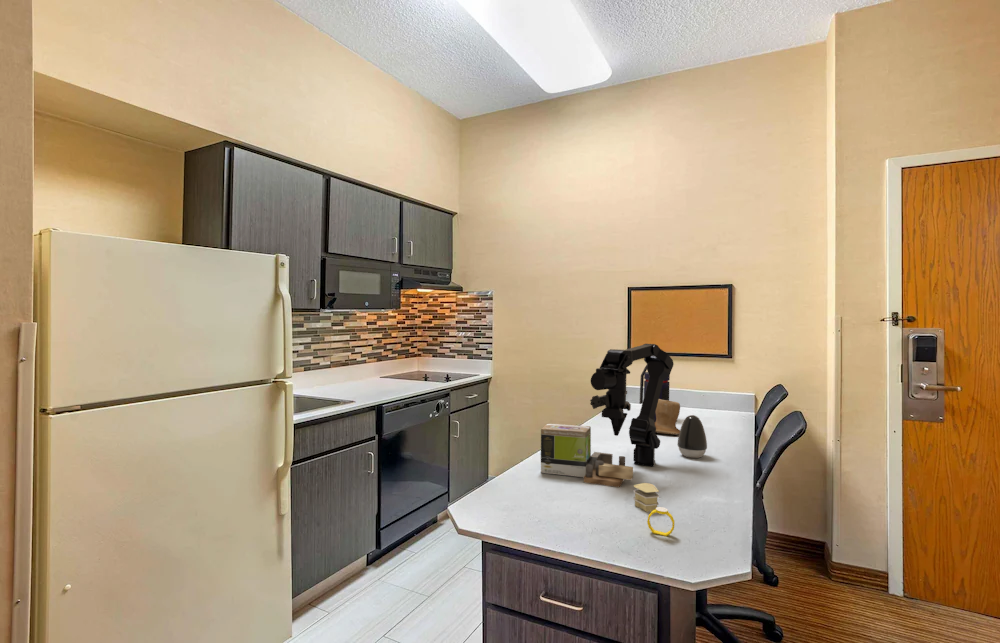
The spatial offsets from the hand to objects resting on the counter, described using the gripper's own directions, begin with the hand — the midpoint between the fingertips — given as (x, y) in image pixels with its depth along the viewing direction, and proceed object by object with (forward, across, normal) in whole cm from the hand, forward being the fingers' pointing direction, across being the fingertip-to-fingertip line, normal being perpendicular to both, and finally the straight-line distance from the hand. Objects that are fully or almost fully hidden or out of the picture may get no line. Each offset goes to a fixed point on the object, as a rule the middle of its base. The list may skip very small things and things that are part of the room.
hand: (616, 435), depth 165 cm
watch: (+13, +43, +18) cm, 48 cm away
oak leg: (+11, +10, +1) cm, 15 cm away
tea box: (+12, +6, -15) cm, 21 cm away
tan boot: (+12, -67, +8) cm, 68 cm away
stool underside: (+12, +6, -2) cm, 14 cm away
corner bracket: (+11, +2, -4) cm, 12 cm away
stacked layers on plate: (+13, +26, +13) cm, 32 cm away
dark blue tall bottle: (+12, -91, +2) cm, 92 cm away
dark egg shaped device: (+12, -32, +22) cm, 41 cm away
